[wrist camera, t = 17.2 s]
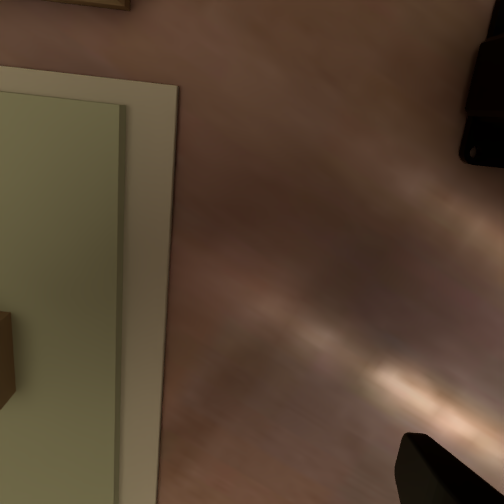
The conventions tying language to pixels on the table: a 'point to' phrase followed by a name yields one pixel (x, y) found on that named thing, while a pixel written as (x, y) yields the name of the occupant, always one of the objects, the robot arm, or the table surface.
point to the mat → (133, 254)
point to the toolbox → (99, 3)
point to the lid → (60, 298)
